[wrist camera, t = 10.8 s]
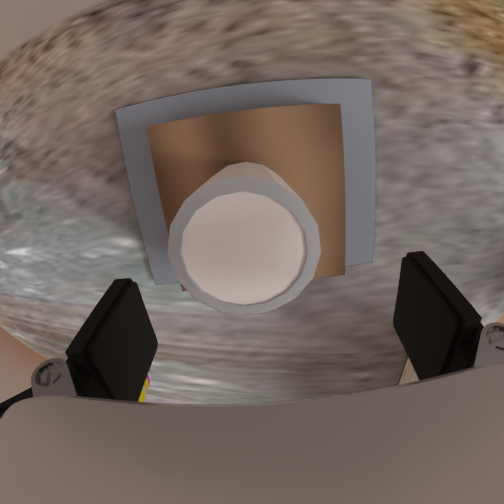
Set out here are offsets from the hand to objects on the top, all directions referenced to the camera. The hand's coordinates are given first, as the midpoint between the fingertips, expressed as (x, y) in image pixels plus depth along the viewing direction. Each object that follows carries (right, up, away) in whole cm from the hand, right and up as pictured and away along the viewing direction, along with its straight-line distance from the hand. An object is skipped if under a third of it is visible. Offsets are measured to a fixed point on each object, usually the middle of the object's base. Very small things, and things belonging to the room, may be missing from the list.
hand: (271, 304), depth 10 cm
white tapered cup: (-1, +5, +10) cm, 11 cm away
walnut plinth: (-1, +7, +14) cm, 16 cm away
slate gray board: (-1, +7, +14) cm, 16 cm away
